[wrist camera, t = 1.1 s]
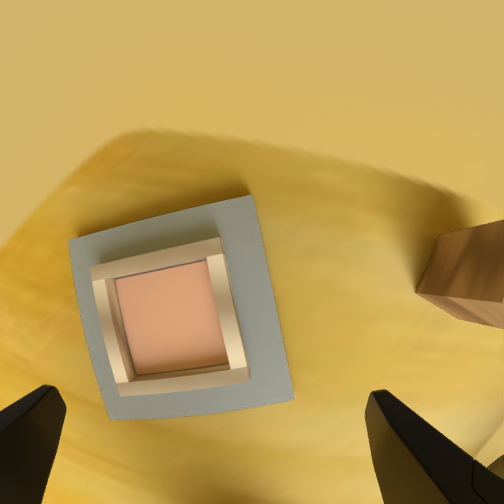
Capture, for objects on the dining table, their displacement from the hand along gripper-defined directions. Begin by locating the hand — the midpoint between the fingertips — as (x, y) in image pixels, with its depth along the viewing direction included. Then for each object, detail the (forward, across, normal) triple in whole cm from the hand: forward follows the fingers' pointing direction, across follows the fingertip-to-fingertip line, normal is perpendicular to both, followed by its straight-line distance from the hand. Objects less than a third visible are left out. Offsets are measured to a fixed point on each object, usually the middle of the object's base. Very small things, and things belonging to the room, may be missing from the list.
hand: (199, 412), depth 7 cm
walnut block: (+14, -17, +4) cm, 22 cm away
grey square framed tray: (+13, +4, +5) cm, 15 cm away
